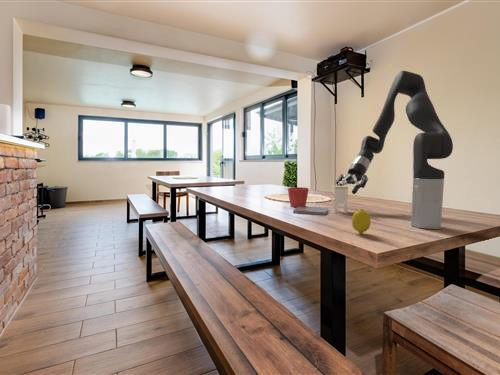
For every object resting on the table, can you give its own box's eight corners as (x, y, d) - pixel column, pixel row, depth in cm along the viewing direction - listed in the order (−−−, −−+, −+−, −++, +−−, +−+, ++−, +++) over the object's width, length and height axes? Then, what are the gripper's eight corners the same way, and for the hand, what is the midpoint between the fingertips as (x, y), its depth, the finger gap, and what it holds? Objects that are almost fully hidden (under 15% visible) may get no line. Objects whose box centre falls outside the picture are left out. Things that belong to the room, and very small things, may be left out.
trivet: (324, 215, 120) (325, 212, 120) (293, 213, 125) (293, 210, 125) (327, 210, 133) (327, 207, 133) (299, 208, 138) (299, 206, 138)
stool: (346, 213, 125) (347, 186, 124) (334, 212, 127) (334, 186, 126) (347, 211, 130) (347, 186, 129) (334, 210, 132) (335, 185, 131)
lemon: (348, 231, 91) (349, 207, 90) (364, 231, 91) (365, 207, 91) (356, 236, 85) (357, 210, 85) (373, 235, 86) (374, 210, 85)
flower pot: (284, 205, 149) (284, 187, 148) (302, 204, 152) (302, 186, 152) (293, 208, 139) (293, 189, 138) (312, 207, 142) (312, 188, 141)
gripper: (343, 162, 139) (328, 185, 133) (370, 162, 128) (355, 188, 122) (349, 172, 143) (335, 196, 137) (375, 173, 132) (361, 199, 126)
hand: (344, 192), depth 130 cm, fingers open, 8 cm apart
